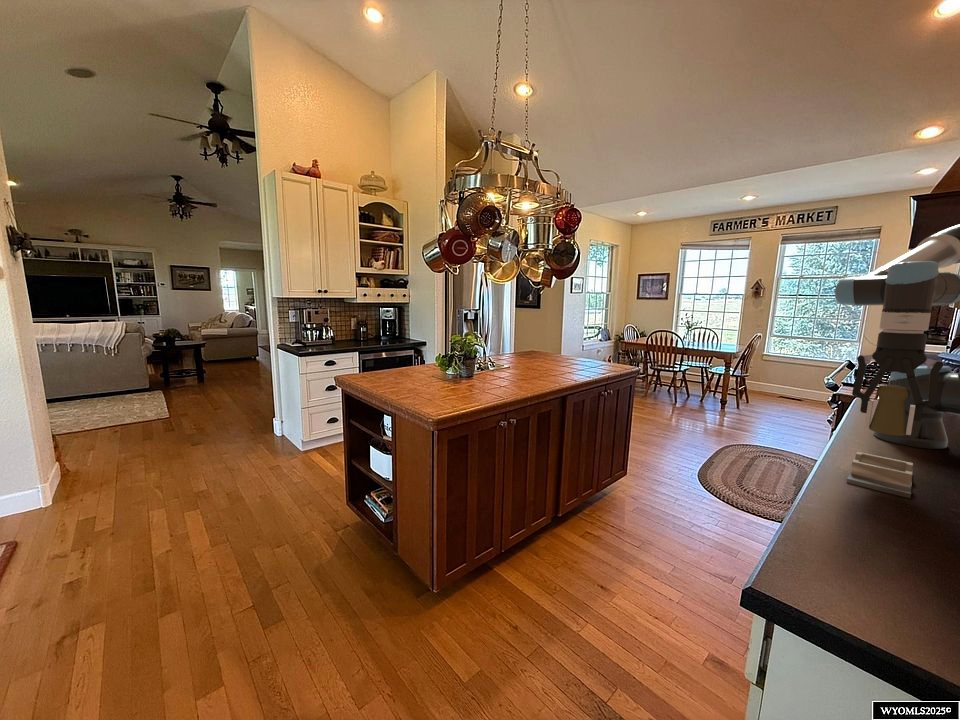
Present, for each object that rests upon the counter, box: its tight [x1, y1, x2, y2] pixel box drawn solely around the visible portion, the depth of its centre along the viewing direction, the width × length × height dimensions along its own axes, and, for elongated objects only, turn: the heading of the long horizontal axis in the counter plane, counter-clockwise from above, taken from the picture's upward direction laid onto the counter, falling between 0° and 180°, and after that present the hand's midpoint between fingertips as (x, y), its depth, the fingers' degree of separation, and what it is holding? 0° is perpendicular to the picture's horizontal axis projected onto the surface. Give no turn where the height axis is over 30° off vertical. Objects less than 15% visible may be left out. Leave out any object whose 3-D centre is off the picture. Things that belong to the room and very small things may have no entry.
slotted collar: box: [846, 451, 914, 499], centre depth 92 cm, size 18×10×4 cm, turn 131°
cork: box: [868, 384, 910, 436], centre depth 90 cm, size 6×6×11 cm
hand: (887, 429), depth 91 cm, fingers closed on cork, 6 cm apart
